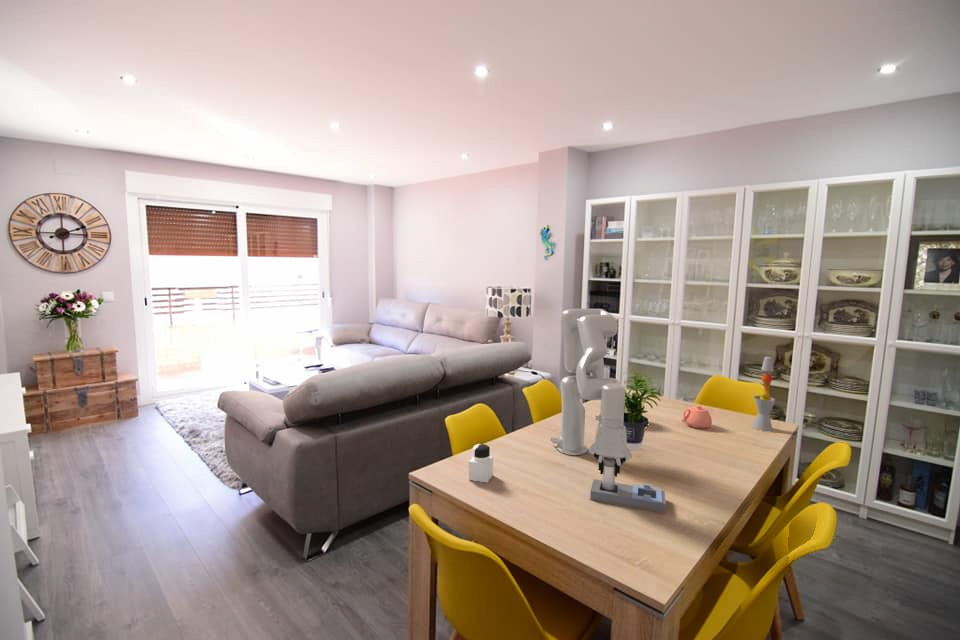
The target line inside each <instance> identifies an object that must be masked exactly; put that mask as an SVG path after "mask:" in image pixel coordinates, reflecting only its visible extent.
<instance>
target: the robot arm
mask: <svg viewBox="0 0 960 640" xmlns="http://www.w3.org/2000/svg"><path fill="white" fill-rule="evenodd" d="M560 327H561V331H562V334H563V335H562V336H563V338H564V344H563V345H564V350H563V351H564V356H563V358H564V360H563V361H564V362H563V363H564V368H565V370H566V371H567V372H569V373H575V375H567V376H565V377H562V379H561V380H560V383H559V385H560V386H559V387H560V393H561V426H560V427H561V430H560V436H558V437H555V436H551V437H550V442H552V444H557V445H556V450H557V451H558V450H559V451H558V452H560V453H562V454H564V453H565V455H568V456H583V455H584V454H585V455H586V454H587V452H589V454H591V455H592V456H593V457H594V458H595V459H596V460H597V462H598V471H600V472H599V473H600V475H603V458H604V457H605V456H608V457H614V458H616V465H615V478H617V477H618V474H619V475H620V472H621V470H620V469H621V465H622V464H624V463H625V462H626V461H630V460H632V458H633V455H632V453H631V451H630V450H629V448H628V447H627V446H628V445H627V443H628V439H627V429H626V425H625V424H624V423H625V422H624V409H625V392H626V388H625V386H623V385H622V384H621V383H620V381H619V380H618V379H617V378H615V377H614V378H613V377H605V376H604V374H605V372H604V371H605V369H604V368H605V365H604V364H605V363H604V361H605V360H604V357H605V356H606V355H607V354H608V348H607V344H606V338H613V337H615V336H616V334H617V332H618V323H617V320H616V318H615V317H614V316H613V315H612V314H611V313H610V312H608V311H607V310H605V309H602V308H569V309H566V310H563V311H562V313H561V315H560ZM587 373H589V374H590V375H587ZM580 400H585V401H600V415H595V421H598V423H597V425H596V428H595V434H594V435H595V436H594V443H592V445H591V446H590V447H589V448H588V446H587V445H585V425H586V424H585V423H586V422H585V421H586V408H585V406H584V405H583V403H582V402H581V401H580Z"/></svg>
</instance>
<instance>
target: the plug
mask: <svg viewBox="0 0 960 640" xmlns="http://www.w3.org/2000/svg"><path fill="white" fill-rule="evenodd" d="M616 461H617V460H616V458H614V457H608V456H603V474H602V479H601V480H602V487H603V488H604V489H606V490H613V489H614V485H615V483H616V480H615V479H616V477H615V465H616Z"/></svg>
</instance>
